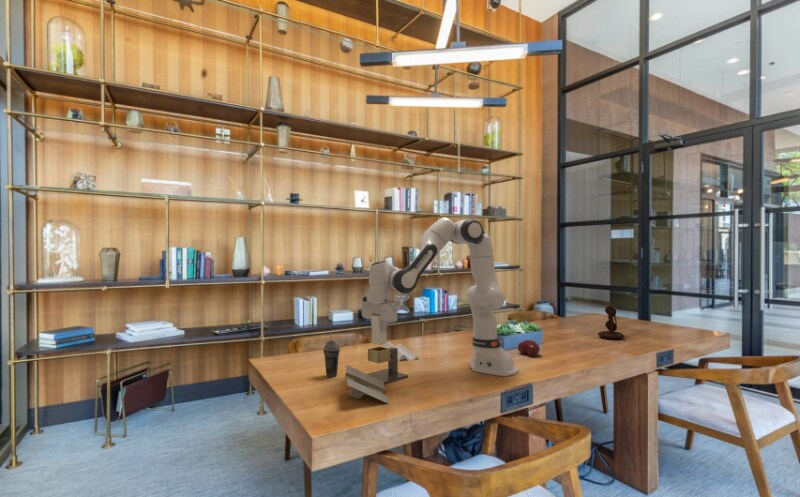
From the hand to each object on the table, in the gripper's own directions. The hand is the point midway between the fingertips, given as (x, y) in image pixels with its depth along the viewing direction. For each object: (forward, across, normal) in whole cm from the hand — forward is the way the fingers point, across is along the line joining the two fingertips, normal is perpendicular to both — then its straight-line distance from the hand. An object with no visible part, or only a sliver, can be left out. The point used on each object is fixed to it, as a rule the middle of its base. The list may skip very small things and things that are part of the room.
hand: (379, 330), depth 173 cm
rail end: (+6, 0, 0) cm, 6 cm away
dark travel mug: (+21, +18, +12) cm, 31 cm away
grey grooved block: (+21, -13, +17) cm, 31 cm away
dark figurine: (+21, -40, -160) cm, 166 cm away
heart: (+21, -25, -85) cm, 91 cm away
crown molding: (+22, +27, -38) cm, 51 cm away
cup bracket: (+21, 0, -3) cm, 21 cm away
